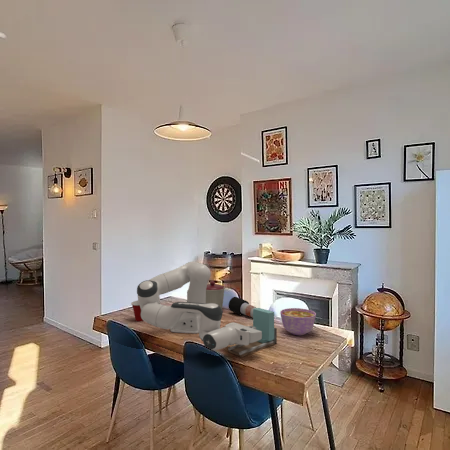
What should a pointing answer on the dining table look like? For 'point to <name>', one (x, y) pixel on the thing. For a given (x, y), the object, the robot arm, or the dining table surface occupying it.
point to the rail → (252, 346)
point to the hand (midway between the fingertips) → (253, 327)
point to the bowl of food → (298, 320)
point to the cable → (241, 307)
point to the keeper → (264, 323)
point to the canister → (215, 293)
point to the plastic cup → (137, 311)
